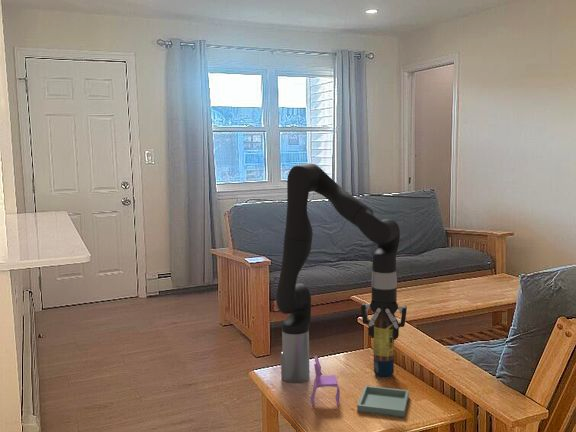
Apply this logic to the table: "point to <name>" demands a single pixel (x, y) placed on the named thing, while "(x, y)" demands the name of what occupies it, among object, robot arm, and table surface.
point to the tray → (383, 401)
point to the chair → (324, 381)
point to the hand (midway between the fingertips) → (383, 337)
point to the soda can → (384, 368)
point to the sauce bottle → (383, 336)
